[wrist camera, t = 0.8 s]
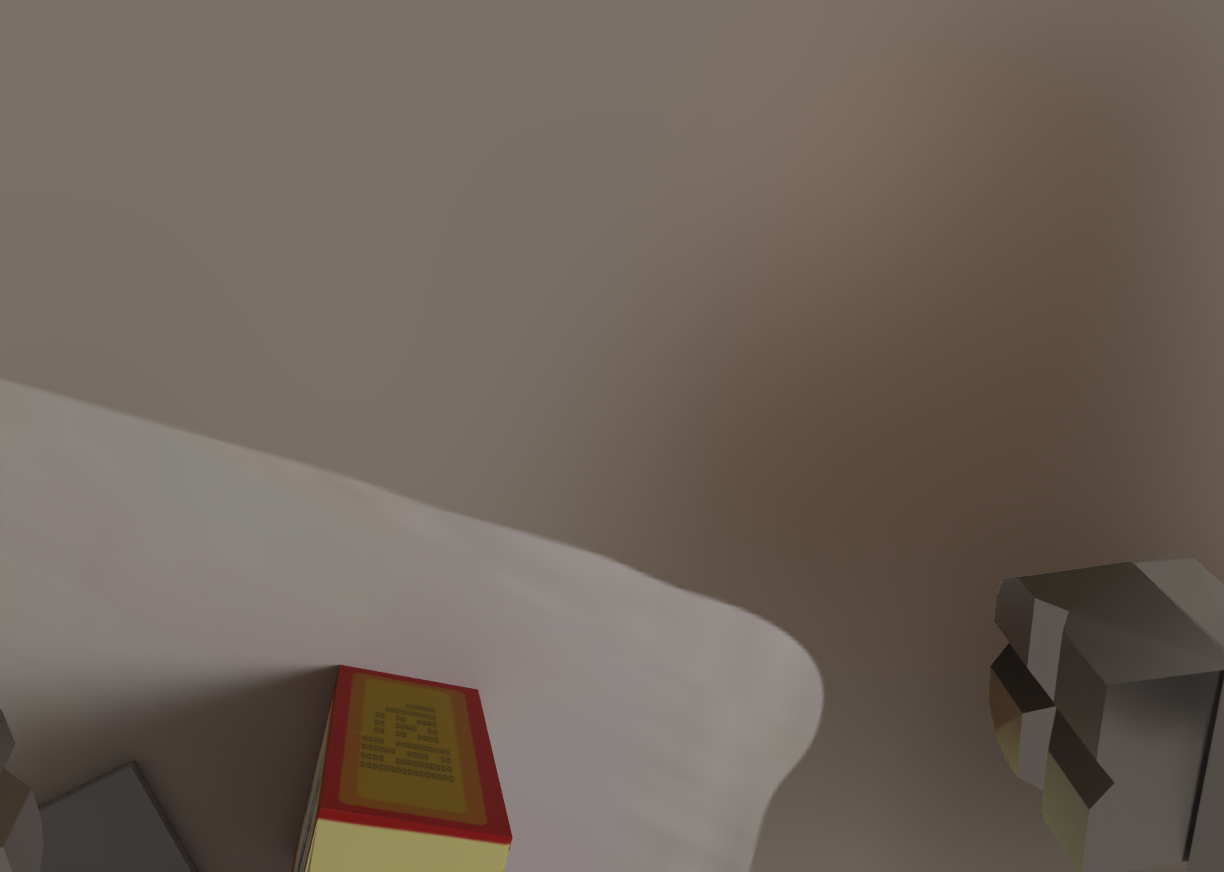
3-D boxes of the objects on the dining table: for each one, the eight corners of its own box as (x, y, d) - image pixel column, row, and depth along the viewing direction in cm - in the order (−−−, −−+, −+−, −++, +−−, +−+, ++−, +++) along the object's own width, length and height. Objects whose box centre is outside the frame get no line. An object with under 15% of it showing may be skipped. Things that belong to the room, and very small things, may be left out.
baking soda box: (339, 664, 53) (319, 812, 38) (477, 689, 55) (513, 842, 39) (293, 859, 54) (255, 1084, 38) (431, 879, 55) (448, 1104, 40)
